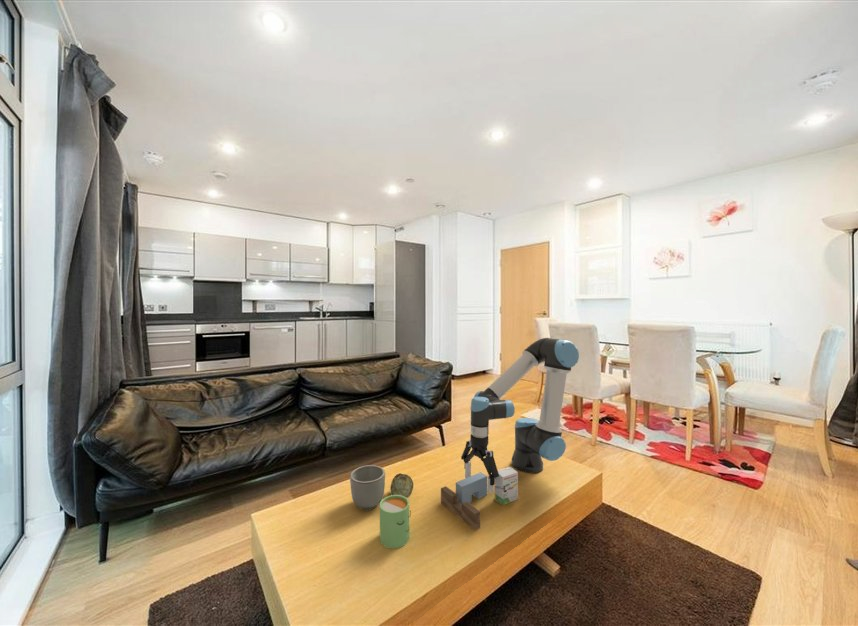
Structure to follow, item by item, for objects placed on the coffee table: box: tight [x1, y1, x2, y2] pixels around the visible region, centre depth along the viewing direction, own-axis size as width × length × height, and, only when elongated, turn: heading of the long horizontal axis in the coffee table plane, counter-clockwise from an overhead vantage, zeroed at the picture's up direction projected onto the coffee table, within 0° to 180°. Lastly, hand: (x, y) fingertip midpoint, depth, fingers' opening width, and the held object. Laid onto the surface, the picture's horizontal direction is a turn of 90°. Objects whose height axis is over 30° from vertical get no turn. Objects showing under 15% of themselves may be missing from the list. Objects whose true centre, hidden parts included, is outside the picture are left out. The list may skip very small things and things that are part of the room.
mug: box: [379, 494, 412, 549], centre depth 113 cm, size 13×10×12 cm
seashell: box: [389, 472, 414, 499], centre depth 136 cm, size 11×11×10 cm
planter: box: [349, 464, 386, 511], centre depth 131 cm, size 14×14×13 cm
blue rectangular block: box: [455, 471, 488, 505], centre depth 135 cm, size 14×4×8 cm, turn 125°
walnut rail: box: [440, 485, 481, 531], centre depth 124 cm, size 2×20×6 cm, turn 35°
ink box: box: [494, 466, 519, 506], centre depth 134 cm, size 8×5×12 cm, turn 118°
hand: (478, 484), depth 137 cm, fingers open, 13 cm apart
